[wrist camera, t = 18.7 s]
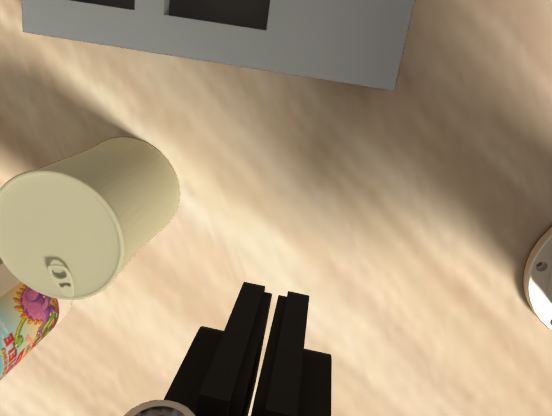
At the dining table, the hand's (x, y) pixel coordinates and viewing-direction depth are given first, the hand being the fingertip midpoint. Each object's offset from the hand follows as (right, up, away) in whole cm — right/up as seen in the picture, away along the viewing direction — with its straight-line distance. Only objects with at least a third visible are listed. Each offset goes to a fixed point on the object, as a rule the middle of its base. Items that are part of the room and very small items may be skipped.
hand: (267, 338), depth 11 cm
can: (-13, +5, +28) cm, 32 cm away
